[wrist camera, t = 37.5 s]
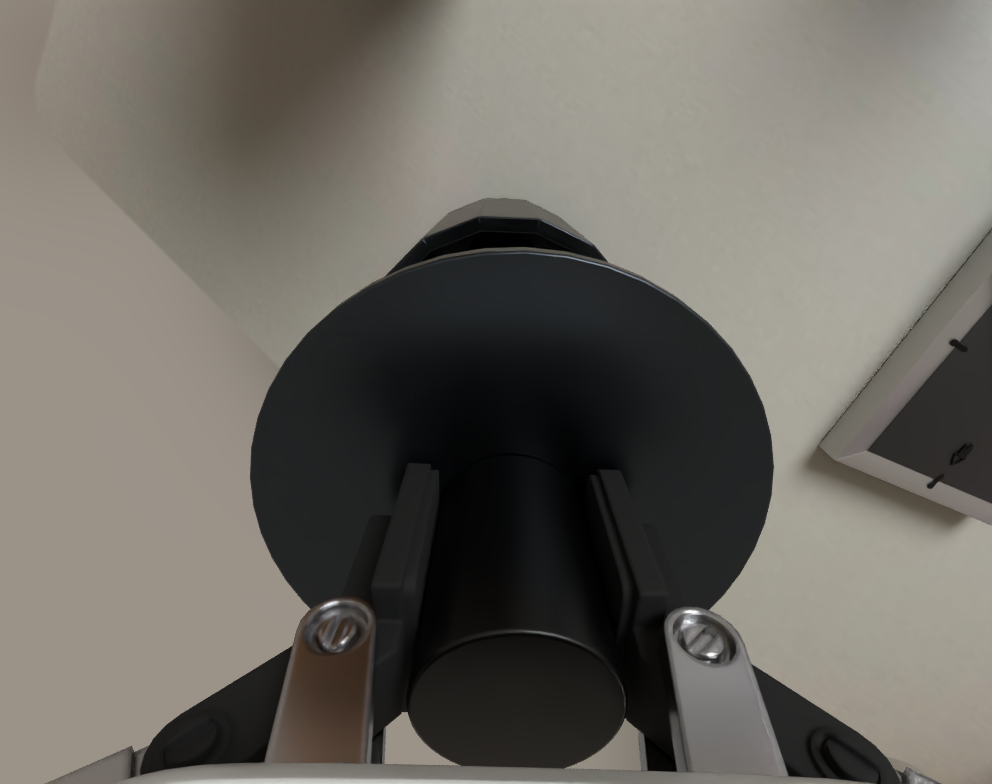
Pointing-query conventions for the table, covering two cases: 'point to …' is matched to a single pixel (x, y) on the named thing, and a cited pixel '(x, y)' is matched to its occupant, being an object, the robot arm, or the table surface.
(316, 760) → the robot arm
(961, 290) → the picture frame
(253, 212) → the table surface
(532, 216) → the trash can
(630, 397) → the bin lid
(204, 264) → the table surface
